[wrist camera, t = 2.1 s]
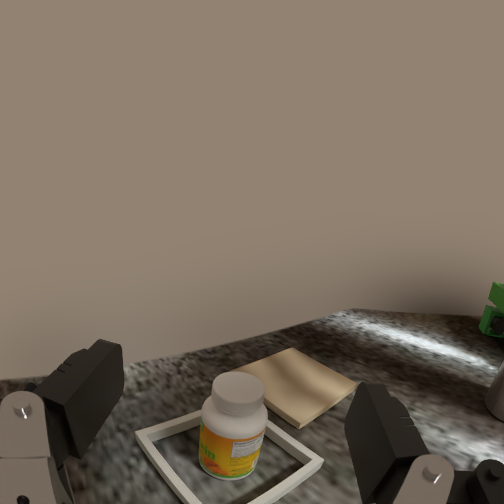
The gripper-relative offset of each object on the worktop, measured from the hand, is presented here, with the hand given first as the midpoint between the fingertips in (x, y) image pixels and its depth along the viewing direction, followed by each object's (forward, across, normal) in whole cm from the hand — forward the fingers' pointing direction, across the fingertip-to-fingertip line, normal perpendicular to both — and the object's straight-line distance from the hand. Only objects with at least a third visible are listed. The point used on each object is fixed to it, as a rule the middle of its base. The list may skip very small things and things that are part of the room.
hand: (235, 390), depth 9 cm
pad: (+25, -7, +18) cm, 32 cm away
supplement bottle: (+11, 0, +18) cm, 21 cm away
